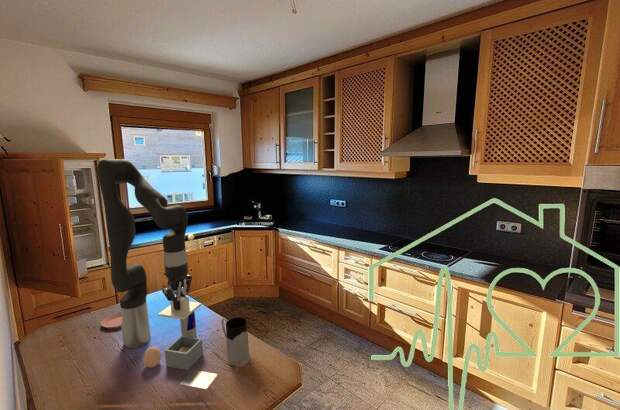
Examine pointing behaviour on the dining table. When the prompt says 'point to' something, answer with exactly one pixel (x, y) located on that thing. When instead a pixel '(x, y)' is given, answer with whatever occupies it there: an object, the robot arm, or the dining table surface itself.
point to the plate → (112, 321)
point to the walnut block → (185, 349)
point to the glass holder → (236, 341)
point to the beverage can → (189, 326)
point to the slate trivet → (199, 379)
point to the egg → (152, 357)
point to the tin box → (182, 358)
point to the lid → (183, 312)
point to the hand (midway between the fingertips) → (180, 307)
